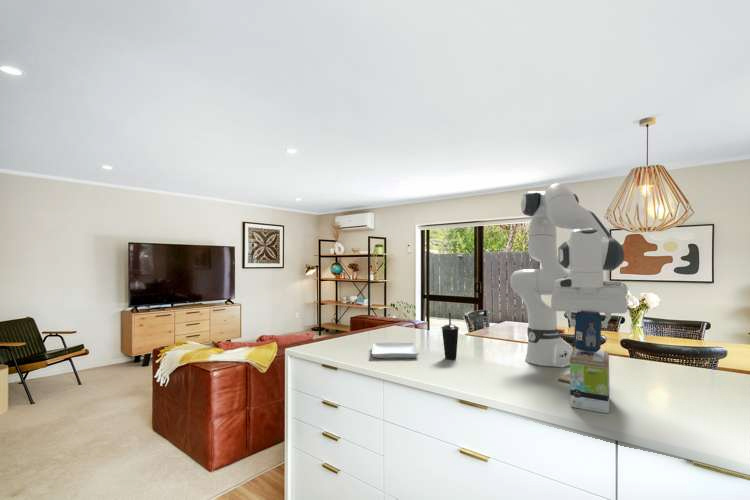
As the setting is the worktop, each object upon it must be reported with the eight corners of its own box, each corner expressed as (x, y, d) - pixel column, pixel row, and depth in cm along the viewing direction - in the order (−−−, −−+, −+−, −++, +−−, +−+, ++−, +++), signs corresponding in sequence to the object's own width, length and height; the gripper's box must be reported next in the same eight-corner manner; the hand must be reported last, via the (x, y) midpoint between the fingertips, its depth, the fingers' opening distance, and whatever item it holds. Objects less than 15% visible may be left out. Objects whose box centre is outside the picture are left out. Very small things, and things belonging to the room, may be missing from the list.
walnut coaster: (569, 374, 141) (569, 372, 141) (599, 380, 133) (599, 378, 133) (558, 380, 134) (558, 378, 134) (588, 387, 127) (588, 385, 127)
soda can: (585, 346, 119) (587, 308, 119) (605, 352, 112) (607, 312, 112) (568, 347, 117) (570, 308, 117) (587, 353, 110) (590, 312, 110)
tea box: (610, 414, 105) (608, 360, 105) (569, 407, 110) (568, 356, 110) (610, 397, 117) (608, 349, 118) (574, 392, 123) (572, 346, 123)
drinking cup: (462, 357, 168) (461, 312, 169) (455, 361, 162) (454, 314, 162) (445, 355, 172) (444, 311, 173) (439, 359, 166) (438, 313, 166)
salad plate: (419, 360, 166) (419, 352, 166) (371, 360, 166) (371, 353, 166) (415, 349, 187) (415, 342, 187) (372, 349, 187) (372, 342, 188)
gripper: (625, 280, 114) (626, 327, 113) (550, 280, 122) (551, 323, 121) (629, 282, 108) (631, 330, 107) (550, 281, 116) (551, 326, 116)
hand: (588, 327), depth 115 cm, fingers closed on soda can, 7 cm apart
